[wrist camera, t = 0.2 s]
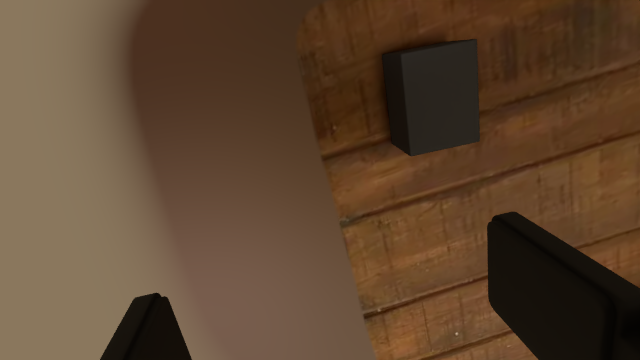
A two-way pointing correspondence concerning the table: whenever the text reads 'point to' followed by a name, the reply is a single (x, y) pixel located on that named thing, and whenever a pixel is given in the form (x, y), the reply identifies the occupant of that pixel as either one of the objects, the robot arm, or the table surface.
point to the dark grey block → (433, 96)
